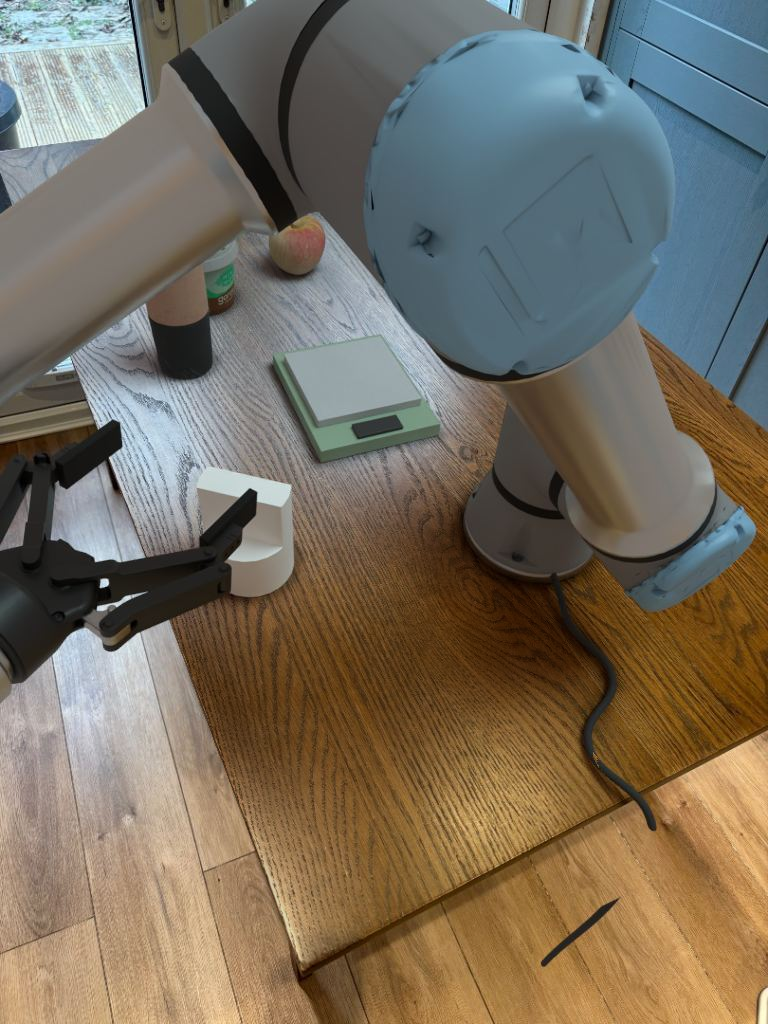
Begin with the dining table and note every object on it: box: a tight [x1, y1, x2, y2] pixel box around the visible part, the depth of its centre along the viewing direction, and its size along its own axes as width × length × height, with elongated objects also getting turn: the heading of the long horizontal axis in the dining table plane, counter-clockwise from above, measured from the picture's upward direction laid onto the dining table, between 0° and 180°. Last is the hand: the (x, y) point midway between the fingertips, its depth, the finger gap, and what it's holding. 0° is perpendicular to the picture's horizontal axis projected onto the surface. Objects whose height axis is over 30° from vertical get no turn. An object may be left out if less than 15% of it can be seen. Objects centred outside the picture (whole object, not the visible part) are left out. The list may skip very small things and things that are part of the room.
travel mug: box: [145, 263, 214, 380], centre depth 95 cm, size 8×8×20 cm
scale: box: [272, 333, 441, 464], centre depth 99 cm, size 20×16×3 cm
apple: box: [268, 214, 326, 276], centre depth 117 cm, size 9×9×8 cm
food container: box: [203, 239, 240, 317], centre depth 109 cm, size 12×6×10 cm, turn 168°
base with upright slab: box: [195, 465, 295, 598], centre depth 76 cm, size 9×9×12 cm
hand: (184, 466), depth 62 cm, fingers open, 13 cm apart
